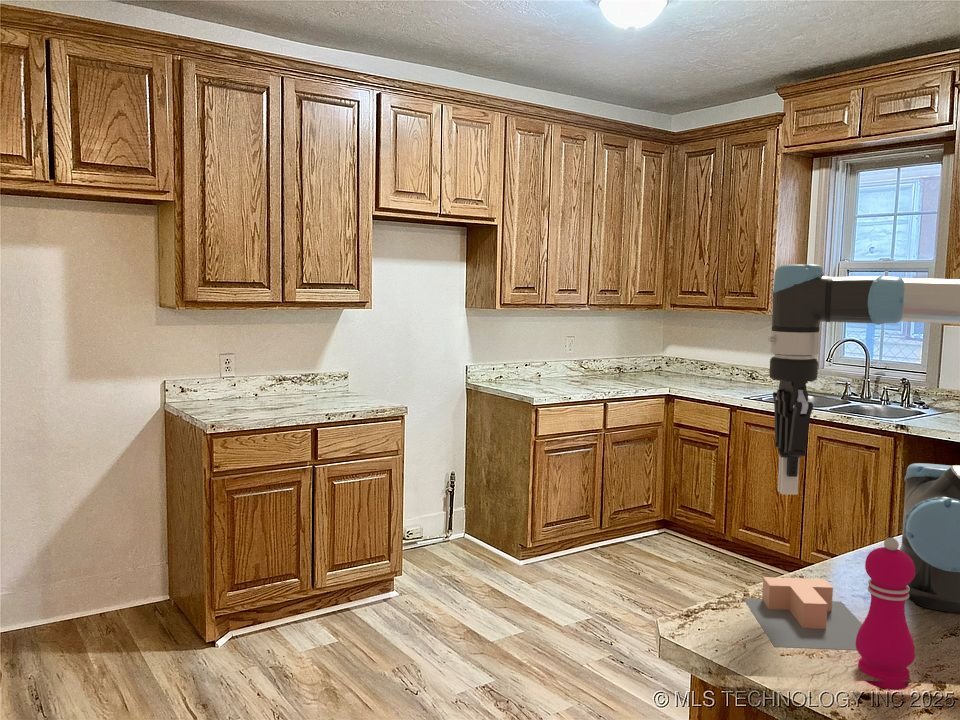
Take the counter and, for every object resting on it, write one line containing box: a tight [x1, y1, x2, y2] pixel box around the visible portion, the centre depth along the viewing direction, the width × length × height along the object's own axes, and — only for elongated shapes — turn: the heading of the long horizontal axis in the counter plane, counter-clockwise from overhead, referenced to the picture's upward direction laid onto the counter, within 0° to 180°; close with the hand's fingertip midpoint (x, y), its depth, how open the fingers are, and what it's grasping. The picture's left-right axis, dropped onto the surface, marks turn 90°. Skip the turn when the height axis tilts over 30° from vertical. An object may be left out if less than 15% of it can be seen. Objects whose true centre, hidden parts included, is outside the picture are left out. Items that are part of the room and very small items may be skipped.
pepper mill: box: [856, 537, 916, 690], centre depth 103 cm, size 7×7×20 cm
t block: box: [761, 576, 834, 629], centre depth 121 cm, size 10×10×4 cm
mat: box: [743, 597, 863, 651], centre depth 118 cm, size 16×17×1 cm
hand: (787, 492), depth 129 cm, fingers closed
